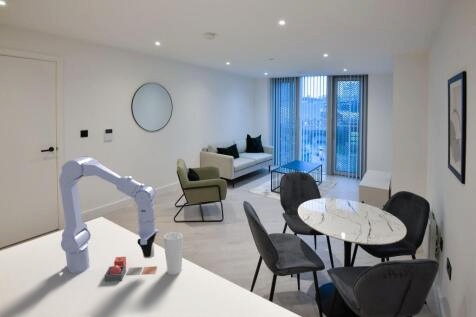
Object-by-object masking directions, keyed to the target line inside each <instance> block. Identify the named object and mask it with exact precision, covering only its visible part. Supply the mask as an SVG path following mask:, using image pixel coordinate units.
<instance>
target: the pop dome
mask: <svg viewBox="0 0 476 317" xmlns="http://www.w3.org/2000/svg"><path fill="white" fill-rule="evenodd" d="M110 267H111V266H110ZM110 274H121V268H120V267H119V266H118V265H112V267H111V269H110Z"/></svg>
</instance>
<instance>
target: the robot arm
mask: <svg viewBox="0 0 476 317" xmlns="http://www.w3.org/2000/svg"><path fill="white" fill-rule="evenodd" d="M91 176H95V177H98V178H100V179H102V180H105V181H107V183H110V184H113V185H115V186H116V189H117V191H119V192H120V193H123V194H124V195H126V196H128V197H130V198H132V199H133V200H134V202H135V204H136V205H137V219H138V220H137V221H138V222H137V223H138V236H139V238H138V239H137V245H138V246H139V247H140V248H141V251H142V256H143V255H144V257H150V256H151V249H152V244H153V242H154V243H155V240H156V236H157V234H158V233H159V228H156V218H155V217H156V216H155V204H154V203H155V201H154V198H155V197H156V195H157V194H156V190H155V188H154V187H153V186H152V185H150V184H144V183H140V182H138V181H136V180H135V179H133V177H132V176H130V175H129V176H128V175H124V176H120V175H119V174H118V173H116V172H114V171H112V170H111V169H109V168H108V167H106V166H104V165H103V164H101V163H100V162H99V161H98V159H96V158H92V156H89V155H82V156H80V157H77V158H75V159H71V160H68V161H66V162H65V163H64V164H63V165H62V166H61V173H60V176H59V179H58V180H59V181H58V182H59V188H60V195H61V200H62V202H61V203H62V207H63V215H64V221H65V227H64V229H63V231H62V234H61V241H60V246H61V250H63V251H64V252H65V258H66V265H65V266H64V269H66V268H67V269H68V273H70V274H80V273H83V272H85V271H88V269H89V268H90V267H91V265H90V264H91V263H90V256H89V246H88V245H89V240H90V239H91V236H92V234H91V231H90V230H89V228H88V225H87V223H85V222H83V216H82V208H81V202H80V195H79V194H80V193H79V187H78V182H79V181H80V180H81V179H82V178H83V177H84V178H85V177H91ZM144 257H143V258H144Z"/></svg>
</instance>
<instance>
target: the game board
mask: <svg viewBox="0 0 476 317" xmlns="http://www.w3.org/2000/svg"><path fill="white" fill-rule="evenodd" d="M157 268H158V266H156V265H155V266H144V267H143V266H141V267H140V266H137V267H128V269H127V271H126V273H125V276H139V275H140V276H141V275H156V272H157Z"/></svg>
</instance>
